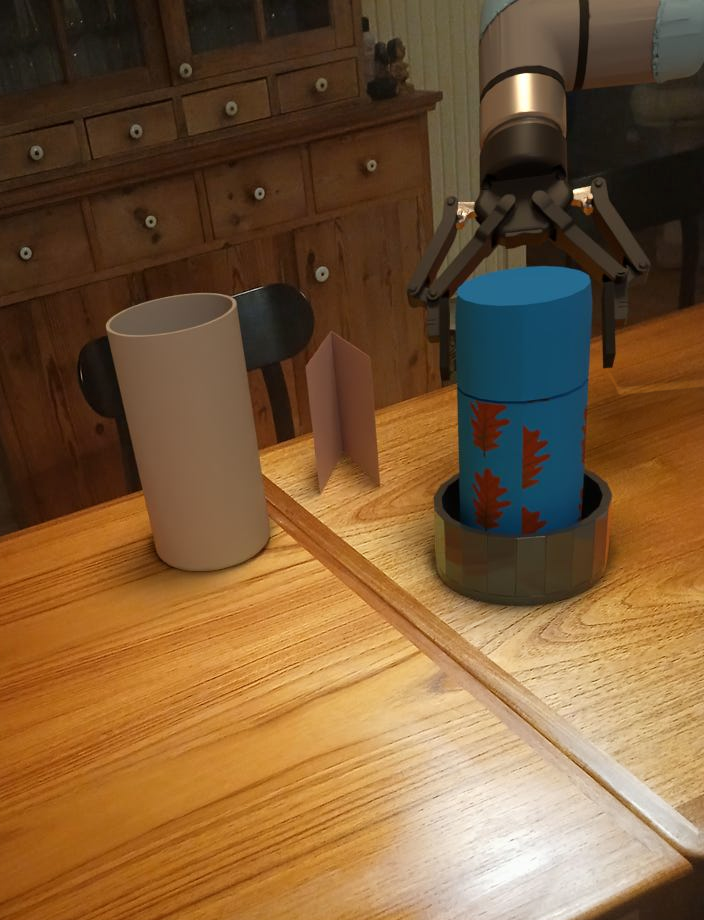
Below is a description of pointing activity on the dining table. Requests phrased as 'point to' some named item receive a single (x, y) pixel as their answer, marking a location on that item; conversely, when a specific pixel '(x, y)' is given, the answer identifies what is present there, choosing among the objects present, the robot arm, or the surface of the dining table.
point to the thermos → (522, 397)
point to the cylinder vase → (192, 428)
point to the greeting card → (342, 408)
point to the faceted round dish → (523, 551)
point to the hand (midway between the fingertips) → (525, 368)
